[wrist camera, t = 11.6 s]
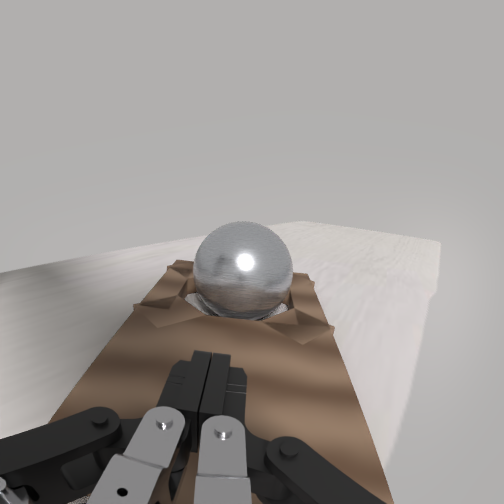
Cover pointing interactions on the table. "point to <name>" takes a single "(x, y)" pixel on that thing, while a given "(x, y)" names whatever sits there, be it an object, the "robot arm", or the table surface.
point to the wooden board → (255, 366)
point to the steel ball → (242, 271)
